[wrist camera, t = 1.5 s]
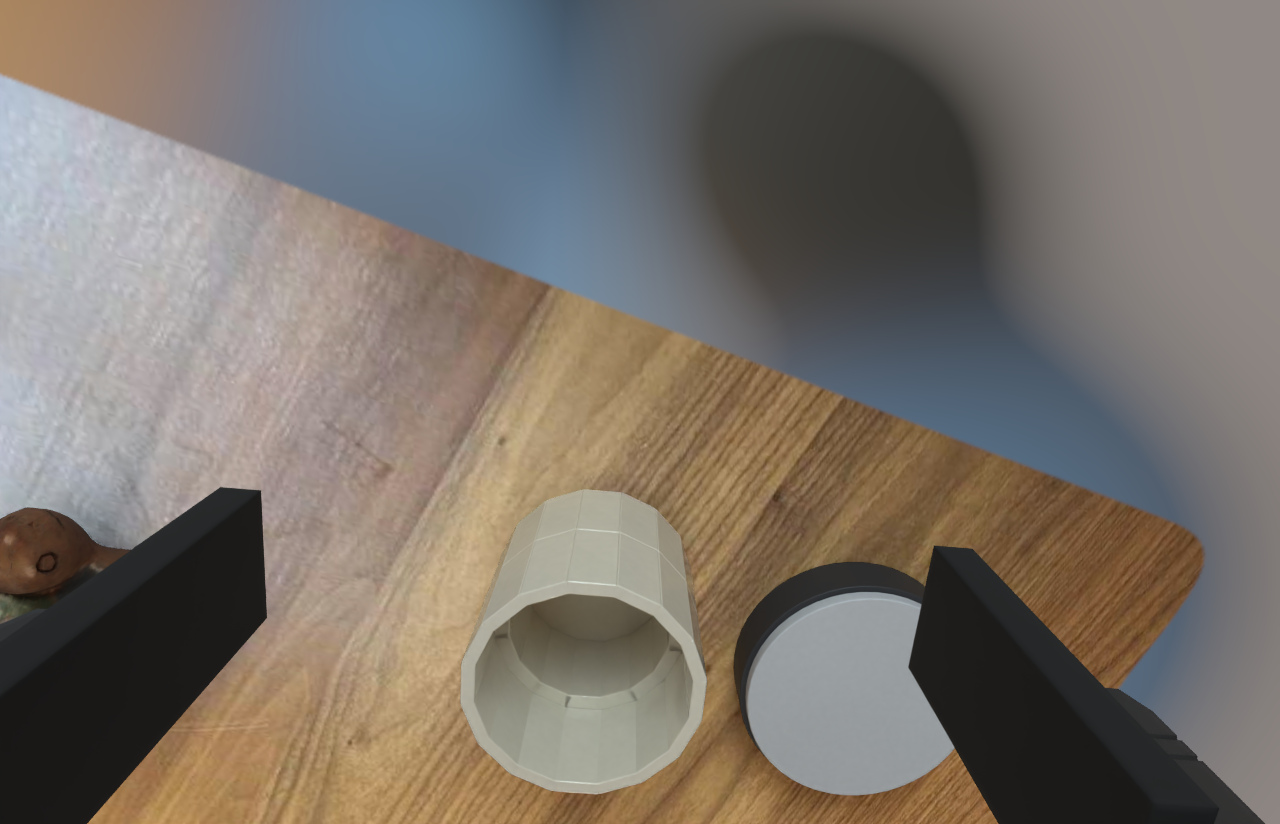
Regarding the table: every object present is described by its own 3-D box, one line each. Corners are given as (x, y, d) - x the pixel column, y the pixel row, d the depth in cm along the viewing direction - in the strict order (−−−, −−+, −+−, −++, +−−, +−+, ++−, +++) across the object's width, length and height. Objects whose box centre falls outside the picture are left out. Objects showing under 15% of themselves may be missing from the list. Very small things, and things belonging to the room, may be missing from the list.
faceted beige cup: (657, 461, 41) (664, 553, 31) (710, 624, 44) (733, 759, 33) (476, 515, 42) (423, 622, 32) (539, 671, 45) (509, 818, 34)
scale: (931, 534, 43) (957, 564, 39) (974, 723, 46) (1002, 766, 42) (707, 597, 44) (713, 632, 40) (765, 778, 47) (775, 824, 43)
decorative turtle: (191, 488, 42) (98, 569, 34) (147, 699, 46) (58, 810, 39) (2, 431, 40) (-139, 501, 33) (-23, 655, 45) (-150, 761, 37)
